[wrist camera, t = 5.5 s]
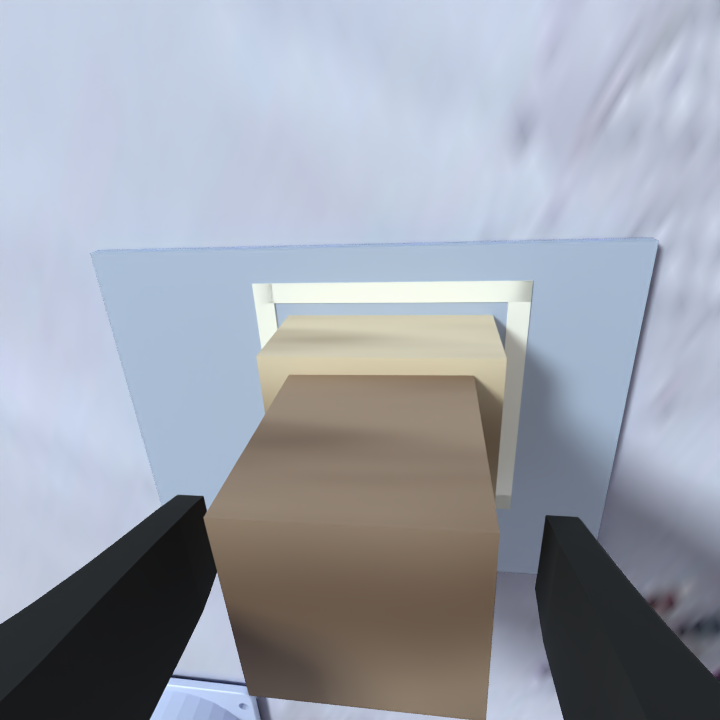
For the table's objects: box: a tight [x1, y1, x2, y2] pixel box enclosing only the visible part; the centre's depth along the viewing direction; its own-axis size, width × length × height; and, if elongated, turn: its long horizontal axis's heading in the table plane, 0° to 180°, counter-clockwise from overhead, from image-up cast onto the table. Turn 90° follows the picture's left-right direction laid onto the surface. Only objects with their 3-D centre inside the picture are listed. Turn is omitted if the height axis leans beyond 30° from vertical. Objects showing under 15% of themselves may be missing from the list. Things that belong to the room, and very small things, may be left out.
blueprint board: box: [90, 238, 659, 574], centre depth 16 cm, size 12×16×1 cm
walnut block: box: [203, 375, 500, 720], centre depth 10 cm, size 4×4×5 cm
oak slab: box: [256, 315, 507, 501], centre depth 14 cm, size 6×6×3 cm
